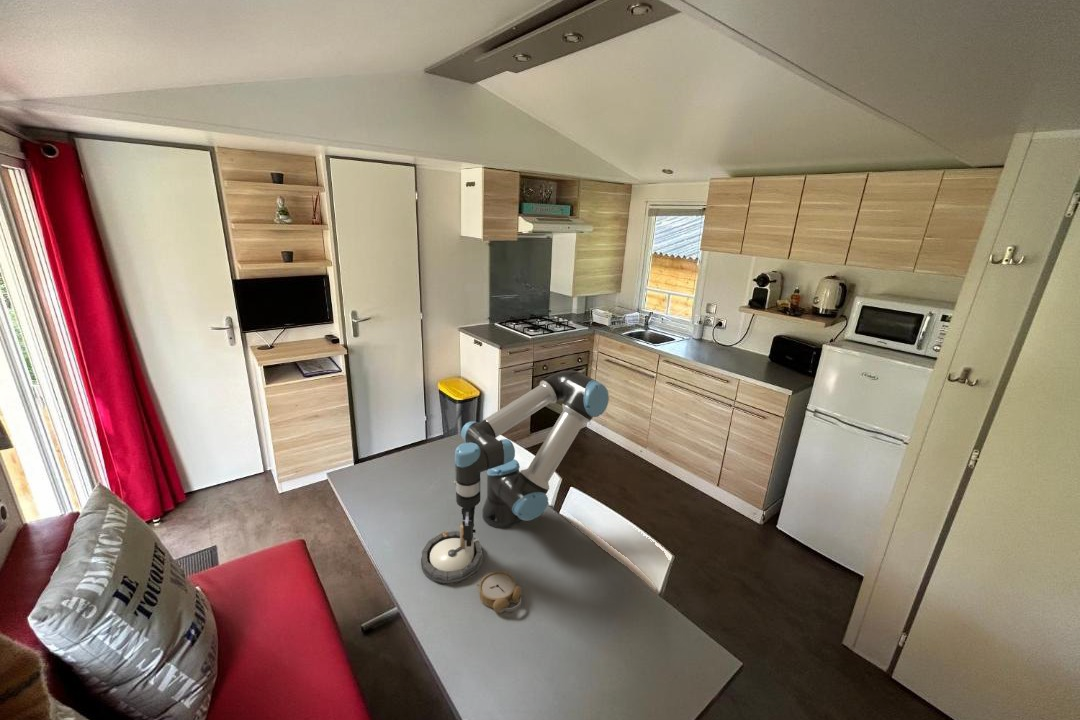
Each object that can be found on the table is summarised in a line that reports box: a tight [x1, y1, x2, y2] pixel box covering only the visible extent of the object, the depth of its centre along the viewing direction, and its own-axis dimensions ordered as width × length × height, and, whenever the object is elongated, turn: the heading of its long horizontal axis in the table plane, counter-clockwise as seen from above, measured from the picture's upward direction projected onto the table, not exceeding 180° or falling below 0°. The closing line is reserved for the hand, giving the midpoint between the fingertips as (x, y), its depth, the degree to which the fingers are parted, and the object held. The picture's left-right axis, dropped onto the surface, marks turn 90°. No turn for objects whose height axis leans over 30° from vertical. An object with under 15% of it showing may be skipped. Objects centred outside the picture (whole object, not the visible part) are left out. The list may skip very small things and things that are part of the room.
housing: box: [420, 530, 483, 585], centre depth 145 cm, size 20×20×4 cm
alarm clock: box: [476, 570, 524, 614], centre depth 132 cm, size 11×5×15 cm
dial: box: [430, 522, 474, 572], centre depth 143 cm, size 14×14×10 cm
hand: (469, 551), depth 143 cm, fingers closed
